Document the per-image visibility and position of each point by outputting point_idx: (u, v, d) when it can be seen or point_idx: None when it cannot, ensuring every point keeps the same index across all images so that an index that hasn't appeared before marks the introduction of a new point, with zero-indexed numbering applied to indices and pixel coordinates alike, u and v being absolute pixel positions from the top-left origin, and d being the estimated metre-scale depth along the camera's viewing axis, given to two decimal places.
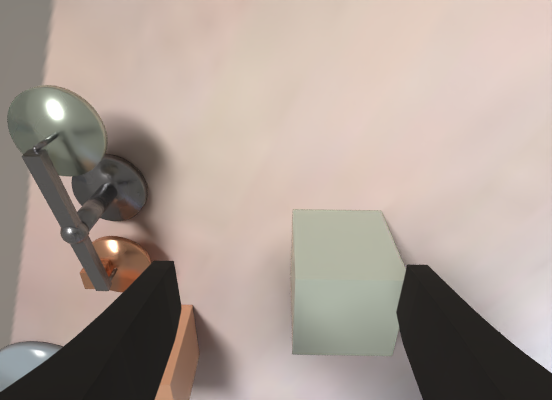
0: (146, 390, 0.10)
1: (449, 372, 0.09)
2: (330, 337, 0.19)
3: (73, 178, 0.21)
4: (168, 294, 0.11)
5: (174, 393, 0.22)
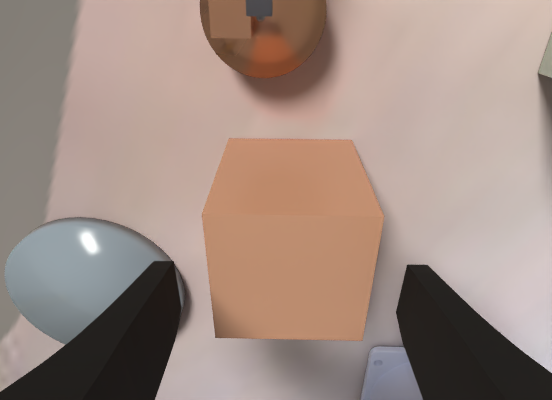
0: (146, 390, 0.10)
1: (449, 372, 0.09)
2: None
3: None
4: (168, 294, 0.11)
5: (375, 245, 0.12)
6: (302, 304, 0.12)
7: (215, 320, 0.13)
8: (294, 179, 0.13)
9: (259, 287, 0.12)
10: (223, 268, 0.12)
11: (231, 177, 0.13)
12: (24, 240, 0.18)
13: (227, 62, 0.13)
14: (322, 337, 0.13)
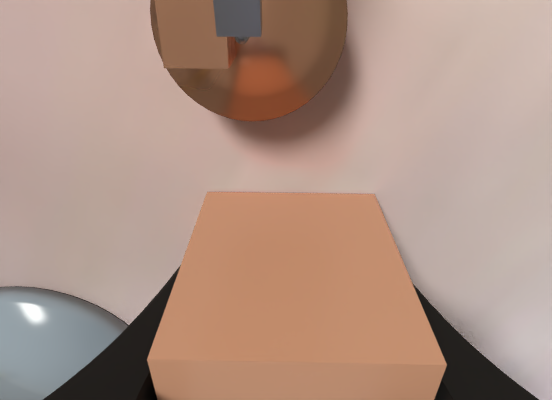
0: None
1: None
2: None
3: None
4: None
5: None
6: None
7: None
8: (298, 274, 0.08)
9: None
10: None
11: (203, 270, 0.09)
12: None
13: (196, 99, 0.08)
14: None
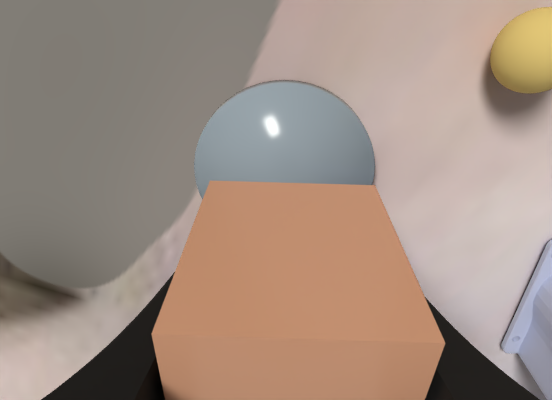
0: None
1: None
2: None
3: None
4: None
5: None
6: None
7: None
8: (299, 258, 0.09)
9: None
10: None
11: (206, 253, 0.09)
12: (229, 102, 0.17)
13: None
14: None
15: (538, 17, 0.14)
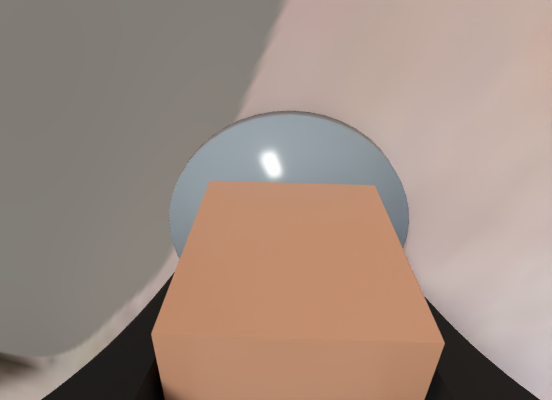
0: None
1: None
2: None
3: None
4: None
5: None
6: None
7: None
8: (299, 258, 0.09)
9: None
10: None
11: (206, 252, 0.09)
12: (214, 142, 0.12)
13: None
14: None
15: None
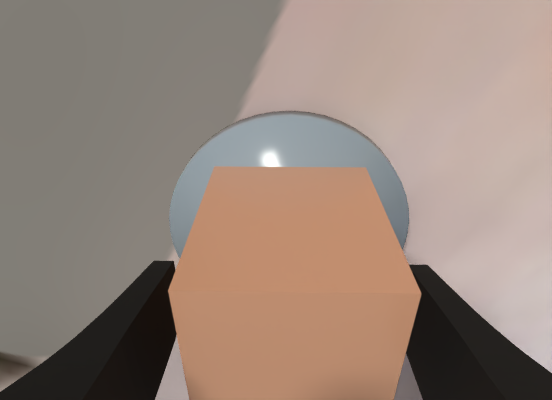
0: (146, 390, 0.10)
1: (449, 372, 0.09)
2: None
3: None
4: (168, 294, 0.11)
5: None
6: (308, 395, 0.09)
7: None
8: (296, 229, 0.10)
9: (250, 376, 0.09)
10: (201, 354, 0.09)
11: (213, 226, 0.10)
12: (215, 142, 0.12)
13: None
14: None
15: None
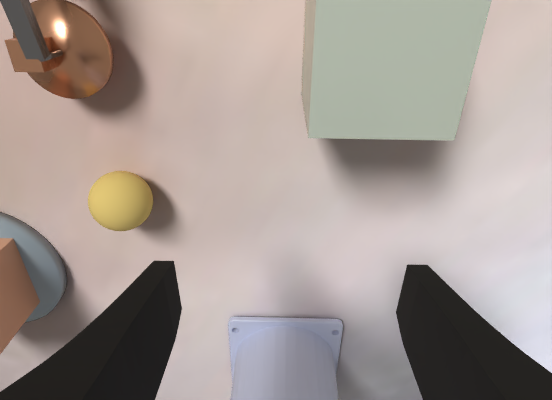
0: (146, 390, 0.10)
1: (449, 372, 0.09)
2: (366, 101, 0.13)
3: None
4: (168, 294, 0.11)
5: None
6: None
7: None
8: None
9: None
10: None
11: None
12: None
13: (44, 87, 0.17)
14: None
15: (98, 184, 0.19)
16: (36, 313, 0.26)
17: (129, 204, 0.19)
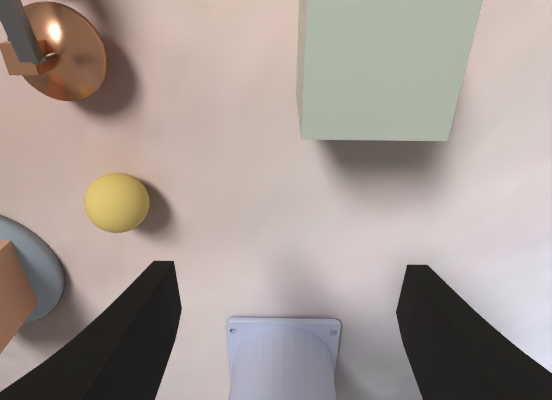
0: (146, 390, 0.10)
1: (449, 372, 0.09)
2: (358, 102, 0.13)
3: None
4: (168, 294, 0.11)
5: None
6: None
7: None
8: None
9: None
10: None
11: None
12: None
13: (39, 89, 0.17)
14: None
15: (94, 186, 0.19)
16: (34, 315, 0.26)
17: (125, 205, 0.19)
